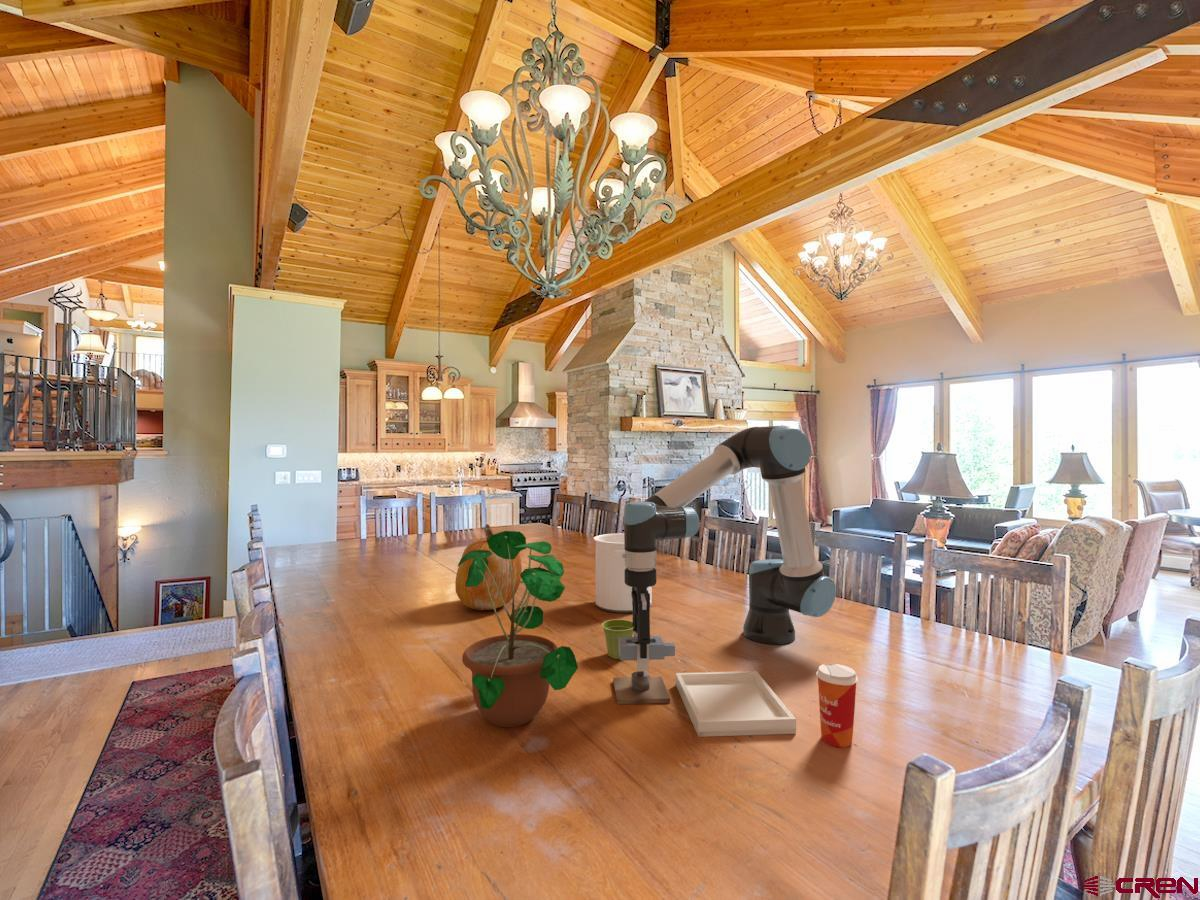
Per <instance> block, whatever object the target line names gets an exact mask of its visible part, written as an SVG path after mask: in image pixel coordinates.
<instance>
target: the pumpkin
mask: <svg viewBox="0 0 1200 900" xmlns="http://www.w3.org/2000/svg"><path fill="white" fill-rule="evenodd" d="M484 534H485V538H481V539H478V540H476V541H473V542H472V543H470V544H468V545H467V546H466V547H465V548H464V551H463V552H462V555H461V558H462V557H463V556H464V555H465V554H467V553H468V552H470V551H474V550H488V551H490V552H492V551H491V549H490V548H489V546H488V543H487V542H488V540H489V538H490V536H491V535H494V532H493V530H492V528H491V526H490V525H489V524H485V526H484ZM492 553H493V554H492V555H490V556H488V557H487V559H488V561H489V563H488V568H489V570H490V572H491V574H492V576H493V578H494V580H495V582H496V584H497V586H498V588H499V591H500V593H501V596H502V598H503V601H504V603H505V605H506V604H508V603H509V602H510V601H511V600H513V593H512V580H511V570H510V560H511V568H512V576H513V585H514V596H515V595H516V593H517V591H518V589H519V586H520V584H521V583H519V582H520V581H522V579H521V576H520V574H521V573H522V572H523V571H522V569H523V568H522V567H523V566H522V560H521V556H520V553H519V554H518V555H517V556H516V557H515V559H510V560H509V559H504V558H502V557H499V556H497V555H496V554H495V553H494V552H492ZM473 559H474V558H473ZM473 559H469V560H467V561H465V562H463V563H462V564H460V565H459V566H457V567H458V568H457V571H456V576H455V593H456V595H457V597H458V599H459V601H460V602H461V603H462V604H464V606H465V607H468V608H470V609H472V610H475V611H490V610H492V611H494V609H493V606H492V603H491V600H490V596H489V592H488V588H489V591H490V595H491V598H492V601H493V604H494V607H495V609H496V610H498V609H499V608H501V607H504V605H503V603H502V600H501V597H500V595H499V592H498V590H497V588H496V586H495V583H494V581H493V579H492V577H491V575H490V573H489V571H488V569H487V568H486V572H485V575H484V577H485V579H486V581H487V584H488V588H487V585H486V581H485V579H483V581H482V582H481V583H480V584H479V585H478V586H477V587H474V586H471V587H466V586H465V584H466V581H467V578H468V571H469V567H470V565H471V563H472V561H473Z"/></svg>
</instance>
